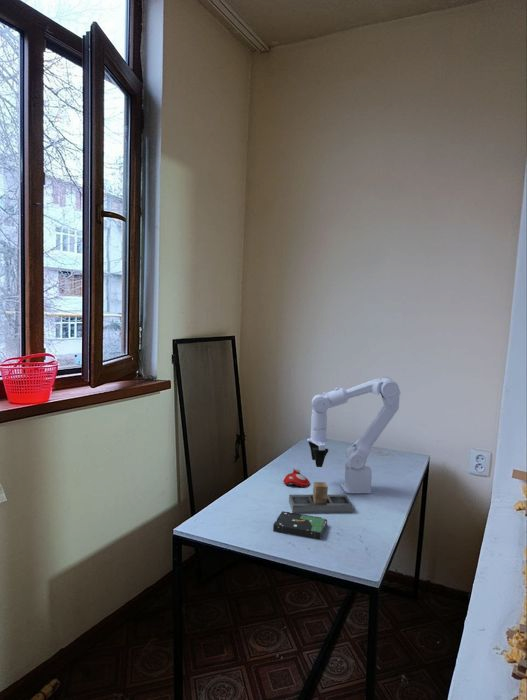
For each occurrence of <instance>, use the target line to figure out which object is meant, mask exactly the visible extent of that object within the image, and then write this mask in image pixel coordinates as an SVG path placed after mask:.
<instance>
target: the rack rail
mask: <svg viewBox="0 0 527 700" xmlns="http://www.w3.org/2000/svg"><path fill="white" fill-rule="evenodd" d="M288 504H289V506H290V510H291V513H297V514H337V513H338V514H339V513H341V514H343V513H344V514H347V513H350V514H351V513H353V511H354V510H353V507H354V506H353V503H352V501H350V499H349V498H348V495H347V494H327V503H313V494H288Z"/></svg>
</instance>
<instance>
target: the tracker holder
mask: <svg viewBox="0 0 527 700" xmlns="http://www.w3.org/2000/svg"><path fill="white" fill-rule="evenodd" d="M300 471H301V470H299V469H297V468H294V467H293V468H292V472H291V473H287V474H286V475H285V477H284V478H283V483H284V484H285V486H288V485H289V484H293V485H296V486H298V487H302V488H307V487H309V486H310V480H309V479H308V478H307V477H306V476H304V475H303V474H301V472H300Z"/></svg>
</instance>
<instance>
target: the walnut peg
mask: <svg viewBox="0 0 527 700" xmlns="http://www.w3.org/2000/svg"><path fill="white" fill-rule="evenodd" d="M312 489H313V491H312V495H313V503H327V495H328V490H329V487H328V484H327V482H325V481H313V488H312Z"/></svg>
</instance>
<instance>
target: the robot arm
mask: <svg viewBox="0 0 527 700" xmlns="http://www.w3.org/2000/svg"><path fill="white" fill-rule="evenodd" d="M368 393H372V394H375V395H380V396H381V398H382V404H383V405H382V407H381V408H380V409H379V411H378V412H377V414H376V415H375V416H374V418H373V419H372V421H371V422H370V424H369V425H368V426H367V428H366V429H365V431H364V432H363V433H362V434H361V436H360V437H359V439H357V440H356V441H355V442H354V443H353V444H352V445H350V446H348V447H347V448H346V449H345V450H346V451H345V456H346V458H347V462H346V463H345V465H344V467H345V468H344V470H345V471H344V483H341V484H340V485H341V488H342V489H343V490H344V492H345V493H346V494H372V479H373V478H372V476H373V475H372V473H373V472H372V468H371V467H370V465H369V466H368V465H366V463H367V459H368V457H369V456H370V452H371V450H372V449H371V448H372V447H373V446H374V444H375V443H376V441H377V440H378V438H379V437H380V436H381V434H382V433H383V432H384V431H385V429H386V428H387V426H388V424H389V423H390V422H391V421H392V419H393V417H394V416H395V415H396V413H397V412H398V411H399V408H400V396H401V390H400V388H399V385H398V383H397V382H396V381H394V380H393V379H392V378H390V377H389V376H382V377H380V378H378V377H377V378H375V379H371V380H369V381H366V382H363V383H361V384H358V385H355V386H353V387H350V388H348V389H345V388H343V387H340V388H339V387H335V388H334V390H332V391H328V392H325V391H324V392H322V394H316V395H314V396H313V397H312V399H311V402H310V403H311V406H312V410H311V415H310V416H311V418H310V419H311V420H310V438H307V440H306V441H307V442H308V445H309V448H310V454H311V459H312V461H315V467H317V468H323V466H324V463H325V459H326V456H327V455H328V453H329V448H326V443H327V425H328V423H327V422H328V415H327V414H328V413H327V411H328V410H329V409H331V408H334V407H335V408H336V407H338V406H341V405H343V404H347V403H348V400H349V399H351V398H354V397H359V396H362V395H365V394H368Z"/></svg>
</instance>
